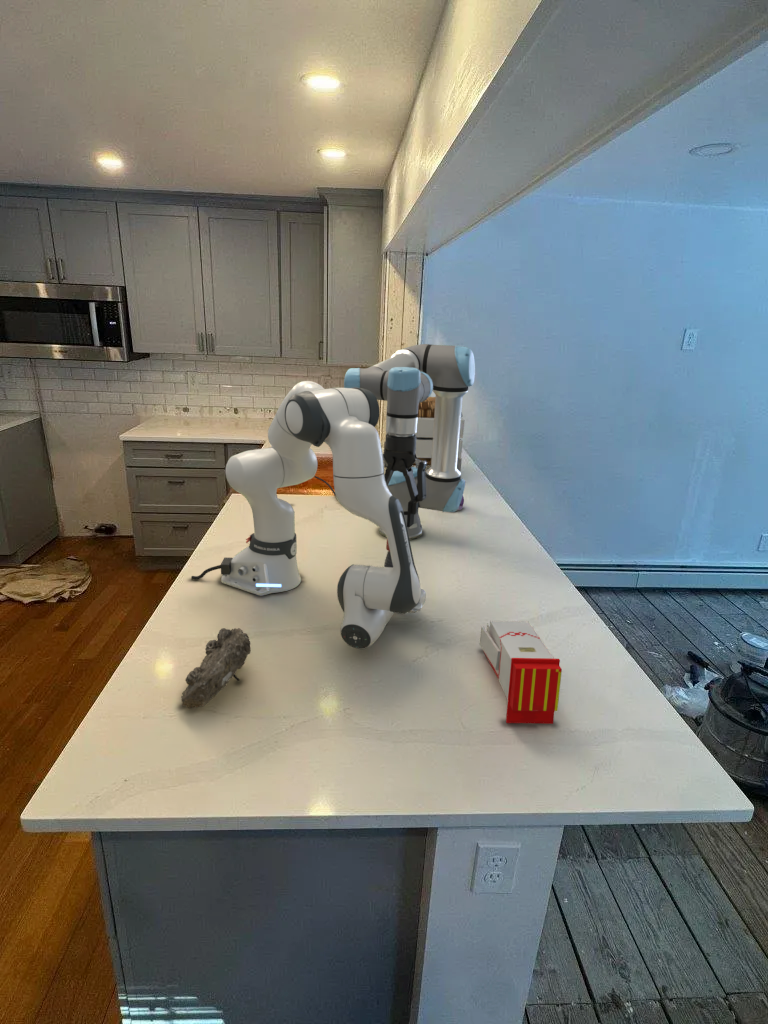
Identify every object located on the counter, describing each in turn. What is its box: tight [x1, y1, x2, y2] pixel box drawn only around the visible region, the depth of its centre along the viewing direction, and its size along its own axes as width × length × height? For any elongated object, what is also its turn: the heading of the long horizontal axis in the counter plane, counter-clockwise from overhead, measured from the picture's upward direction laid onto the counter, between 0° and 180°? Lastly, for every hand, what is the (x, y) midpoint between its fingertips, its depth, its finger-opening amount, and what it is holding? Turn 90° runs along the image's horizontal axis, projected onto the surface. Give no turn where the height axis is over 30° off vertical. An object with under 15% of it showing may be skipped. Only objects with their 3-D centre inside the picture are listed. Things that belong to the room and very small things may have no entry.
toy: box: [478, 620, 563, 725], centre depth 121 cm, size 12×13×30 cm
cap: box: [385, 539, 390, 552], centre depth 146 cm, size 5×5×2 cm
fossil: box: [180, 627, 252, 709], centre depth 117 cm, size 22×10×15 cm
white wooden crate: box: [383, 396, 465, 472], centre depth 268 cm, size 34×33×41 cm
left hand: (394, 580), depth 151 cm, fingers closed on bottle, 5 cm apart
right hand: (396, 522), depth 144 cm, fingers open, 7 cm apart
